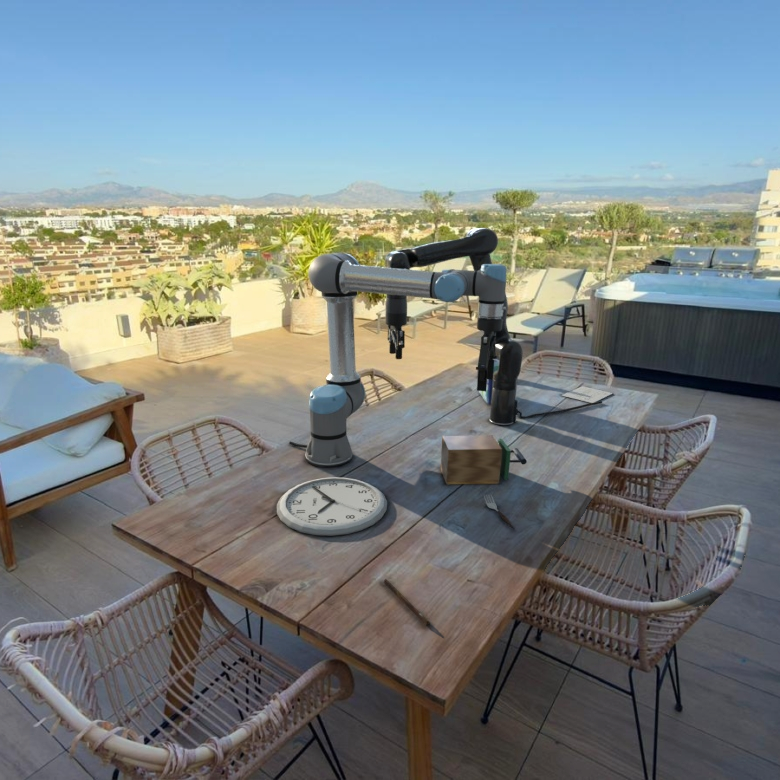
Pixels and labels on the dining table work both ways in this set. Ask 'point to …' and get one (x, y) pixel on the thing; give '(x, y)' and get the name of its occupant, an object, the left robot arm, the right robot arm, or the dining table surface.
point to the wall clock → (331, 506)
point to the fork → (494, 506)
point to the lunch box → (489, 385)
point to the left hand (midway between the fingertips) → (485, 384)
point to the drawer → (508, 458)
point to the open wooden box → (470, 459)
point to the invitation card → (587, 394)
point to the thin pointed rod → (407, 602)
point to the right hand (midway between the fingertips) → (395, 356)
